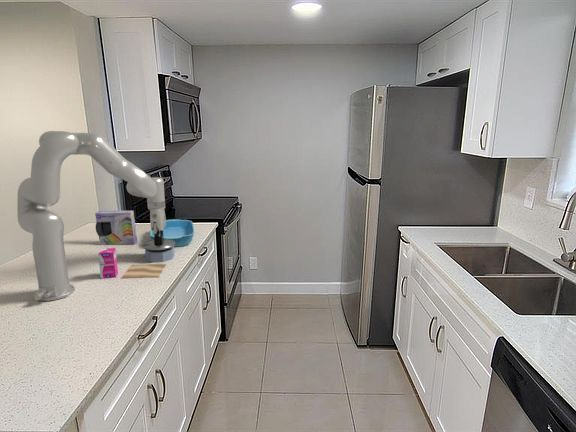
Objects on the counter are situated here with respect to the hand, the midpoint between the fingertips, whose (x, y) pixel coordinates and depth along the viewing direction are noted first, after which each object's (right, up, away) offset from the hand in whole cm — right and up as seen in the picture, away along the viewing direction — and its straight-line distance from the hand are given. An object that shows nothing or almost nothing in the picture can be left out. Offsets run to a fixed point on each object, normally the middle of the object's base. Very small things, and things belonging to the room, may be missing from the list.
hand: (159, 243), depth 171 cm
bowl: (0, -7, +2) cm, 8 cm away
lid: (0, -1, 0) cm, 1 cm away
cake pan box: (-30, -2, +22) cm, 37 cm away
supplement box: (-14, -13, -19) cm, 27 cm away
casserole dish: (-3, -1, +31) cm, 31 cm away
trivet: (-1, -11, -14) cm, 18 cm away
